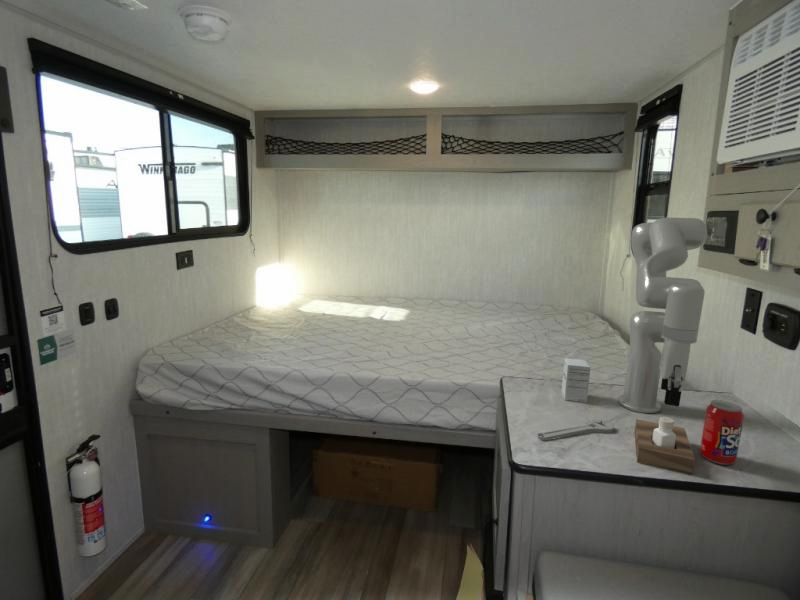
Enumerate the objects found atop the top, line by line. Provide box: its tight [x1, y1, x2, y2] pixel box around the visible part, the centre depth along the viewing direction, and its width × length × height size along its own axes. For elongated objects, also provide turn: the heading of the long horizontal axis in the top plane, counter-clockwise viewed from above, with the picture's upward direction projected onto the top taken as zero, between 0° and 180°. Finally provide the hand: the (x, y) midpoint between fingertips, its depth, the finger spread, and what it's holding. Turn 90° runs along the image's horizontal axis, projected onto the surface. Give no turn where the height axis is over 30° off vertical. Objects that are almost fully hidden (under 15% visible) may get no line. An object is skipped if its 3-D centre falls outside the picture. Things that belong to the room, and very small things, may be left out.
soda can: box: [699, 399, 745, 466], centre depth 117 cm, size 8×8×15 cm
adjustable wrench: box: [536, 419, 615, 441], centre depth 132 cm, size 25×6×2 cm, turn 105°
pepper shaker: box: [652, 416, 676, 449], centre depth 119 cm, size 4×4×10 cm
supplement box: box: [561, 357, 591, 403], centre depth 155 cm, size 7×7×13 cm
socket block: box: [634, 419, 695, 475], centre depth 121 cm, size 18×12×4 cm, turn 155°
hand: (669, 397), depth 117 cm, fingers open, 9 cm apart
